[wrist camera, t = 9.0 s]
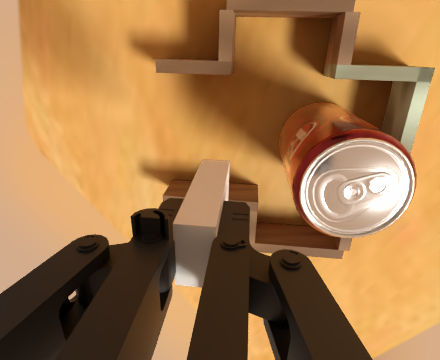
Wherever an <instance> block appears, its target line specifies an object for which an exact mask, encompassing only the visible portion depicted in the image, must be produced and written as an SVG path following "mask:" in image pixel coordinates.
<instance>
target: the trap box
mask: <svg viewBox="0 0 440 360" xmlns="http://www.w3.org/2000/svg"><path fill="white" fill-rule="evenodd" d="M354 4H355V0H227V5H226V10H220V12H219V56H218V60H197V59H156V73H183V74H212V75H231V74H232V73H234V51H235V28H236V17H289V18H332V22H331V29H330V36H329V42H328V49H327V55H326V62H325V68H324V75H323V76H327V77H330V78H334V79H355V80H383V81H393V83H392V87H391V91H390V96H389V100H388V104H387V108H386V112H385V116H384V121H383V125H382V129H381V130H382V131H383V132H385V133H387V134H388V135H390V136H392V137H393V138H395V139H396V140H397V141H399V142H400V143H401V144H403V146H404V147H405V148H406V149H407V150H408V152H409V153H411V150H412V146H413V143H414V139H415V136H416V132H417V129H418V125H419V122H420V118H421V115H422V111H423V108H424V104H425V101H426V97H427V94H428V90H429V87H430V83H431V80H432V76H433V73H434V69H435V68H429V67H415V66H391V65H359V64H351V61H352V56H353V50H354V45H355V39H356V34H357V28H358V23H359V17H360V12H353V10H354ZM191 183H192V181H188V180H172V182H171V184H170V185H169V187H168V188H167V190H166V191H165V193H164V195H163V202H164V201H165V200H167V199H168V198H182V199H184V198H185V196H186V194H187V192H188V190H189V187H190V185H191ZM228 201H236V202H246V203H247V205H248V206H249V207H250V233H249V241H250V244H251V246H252V247H253V248H254V249H255V250H256V251H258V252H264V253H274V252H276V251H278V250H283V249H288V250H294V251H298V252H300V253H302V254H304V255H305V256H312V257H324V258H336V259H342V256H343V252H344V250H345V251H349V250H350V245H351V241H352V238H339V237H334V236H330V235H327V234H324V233H322V232H320V231H318V230H316V229H315V228H313V227H310V226H297V225H284V224H270V223H257V211H258V185H249V184H234V183H229V194H228Z"/></svg>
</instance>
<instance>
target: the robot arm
mask: <svg viewBox="0 0 440 360" xmlns="http://www.w3.org/2000/svg"><path fill="white" fill-rule="evenodd" d="M229 170H230V161H223V160H206V159H202V161H201V163H200V166H199V168H198V170H197V172H196V174H195V176H194V179H193V181H192V183H191V185H190V187H189V190H188V192H187V194H186V196H185V198H184V199H182V198H168V199H167V200H165V201H164V202H162V203H161V205H160V207H159V209H156V208H150V209H143V210H140V211H138V212H135V213H134V214H133V215H132V216H131V223H132V232H133V237H132V239H131V240H130V242H128V243H123V244H116V245H109V242H108V240H107V238H106V237H104V236H102V235H87V236H83V237H80V238H78V239H76V240H74V241H72V242H71V243H70V244H68V245H67V246H65V247H64V248H63V249H61V250H60V251H59V252H57V253H56V254H54V255H53V256H52V257H50V258H49V259H48V260H46V261H45V262H43V263H42V264H41V265H39V266H38V267H37V268H35V269H34V270H32V271H31V272H30V273H28V274H27V275H26V276H25V277H23V278H22V279H20V280H19V281H18V282H16V283H15V284H13V285H12V286H11V287H9V288H8V289H6V290H5V291H4V292H2V293H1V294H0V360H151V359H152V356H153V353H154V350H155V347H156V344H157V341H158V337H159V334H160V331H161V328H162V325H163V322H164V319H165V316H166V313H167V309H168V307H169V304H170V301H171V297H172V282H173V279H174V276H175V284H176V285H182V286H192V287H202V291H201V296H200V301H199V305H198V310H197V314H196V319H195V324H194V328H193V333H192V338H191V342H190V347H189V352H188V356H187V360H247V355H248V312H249V313H251V314H254V315H256V316H259V317H261V318H263V320H264V325H265V329H266V332H267V335H268V338H269V341H270V344H271V347H272V351H273V354H274V357H275V360H372V358H371V356H370V355H369V353H368V352H367V350H366V348H365V347H364V345H363V344H362V342H361V340H360V339H359V337H358V336H357V334H356V333H355V331H354V329H353V328H352V326H351V325H350V323H349V321H348V320H347V318H346V317H345V315H344V313H343V312H342V310H341V309H340V307H339V305H338V304H337V302H336V301H335V299H334V297H333V296H332V294H331V293H330V291H329V290H328V288H327V286H326V285H325V283H324V282H323V280H322V278H321V277H320V275H319V274H318V272H317V270H316V269H315V267H314V266H313V264H312V262H311V261H310V260H309V259H308V258H307V257H306V256H305V255H304V254H302V253H300V252H298V251H294V250H288V249H283V250H278V251H276V252H274V253H273V254H272V255H271V257H270V256H267V255H264V254H262V253H259V252H258V251H256V250H255V249H254V248H253V247H252V246H251V244H250V241H249V233H250V207H249V206H248V205H247V203H246V202H236V201H228V194H229ZM75 290H76V296H75V297H73V298H72V299H70V300H69V299H68V296H69V295H71V294H72V293H73V292H74V291H75Z"/></svg>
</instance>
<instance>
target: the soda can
mask: <svg viewBox="0 0 440 360" xmlns="http://www.w3.org/2000/svg"><path fill="white" fill-rule="evenodd" d="M279 149H280V154H281V157H282V161H283V164H284V168H285V171H286V175H287V179H288V182H289V186H290V189H291V193H292V196H293V200H294V203H295V205H296V208H297V210H298V212H299V213H300V215H301V217H302V218H303V219H304V220H305V221H306V222H307V223H308V224H309V225H310V226H312V227H313V228H315V229H316V230H318V231H320V232H322V233H324V234H327V235H330V236H334V237H339V238H356V237H364V236H367V235H371V234H374V233H376V232H379V231H381V230H383V229H385V228H386V227H388V226H389V225H391V224H392V223H394V222H395V221H396V220H397V219H398V218H399V217H400V216H401V215H402V214H403V212H404V211H405V210H406V208H407V207H408V205H409V204H410V202H411V200H412V198H413V195H414V192H415V188H416V176H417V175H416V170H415V164H414V161H413V159H412V157H411V155H410V153H409V152H408V150H407V149H406V148H405V147H404V146H403V144H401V143H400V142H399V141H397V140H396V139H395V138H393V137H392V136H390V135H388V134H387V133H385V132H383V131H382V130H380V129H378V128H376V127H375V126H373V125H371V124H370V123H368V122H366V121H365V120H363V119H361V118H359V117H358V116H356V115H354V114H353V113H351V112H349V111H347V110H346V109H344V108H342V107H340V106H338V105H336V104H332V103H327V102H318V103H313V104H309V105H306V106H304V107H302V108H300V109H299V110H297V111H296V112H294V113H293V114H292V115H291V116H290V117H289V118H288V120H287V121H286V122H285V124H284V126H283V128H282V130H281V133H280V137H279Z"/></svg>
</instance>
